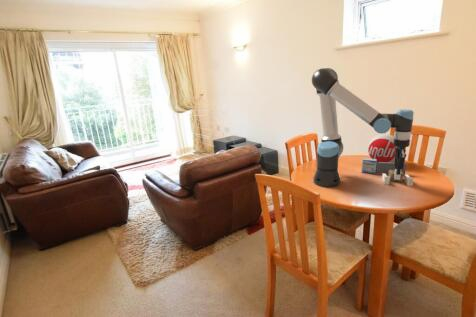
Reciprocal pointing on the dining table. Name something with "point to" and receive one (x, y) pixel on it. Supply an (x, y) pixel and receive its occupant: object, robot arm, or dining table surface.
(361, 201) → the dining table surface
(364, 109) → the robot arm
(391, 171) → the block
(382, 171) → the block
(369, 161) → the medicine box
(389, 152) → the decorative sphere
